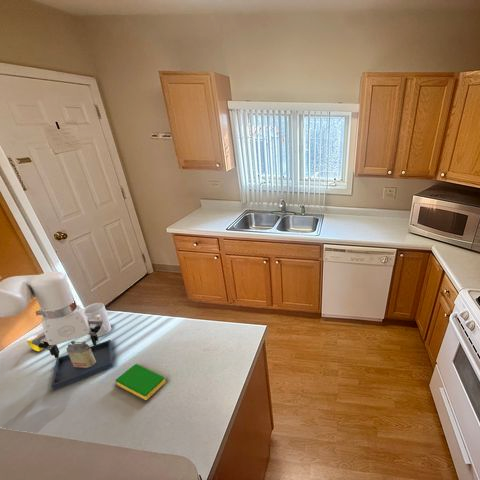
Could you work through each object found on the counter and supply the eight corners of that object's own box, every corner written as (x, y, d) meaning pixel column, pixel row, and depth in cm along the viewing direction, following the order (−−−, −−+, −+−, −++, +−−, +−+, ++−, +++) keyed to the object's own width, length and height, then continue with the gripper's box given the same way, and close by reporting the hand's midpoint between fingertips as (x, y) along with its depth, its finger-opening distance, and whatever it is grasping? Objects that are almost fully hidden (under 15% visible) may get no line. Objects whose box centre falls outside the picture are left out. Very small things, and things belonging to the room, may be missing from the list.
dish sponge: (146, 400, 80) (144, 395, 79) (116, 384, 85) (114, 379, 84) (166, 382, 86) (164, 377, 85) (137, 368, 91) (136, 363, 90)
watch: (48, 349, 96) (42, 337, 94) (39, 354, 94) (33, 342, 91) (37, 344, 98) (31, 333, 95) (28, 350, 95) (21, 338, 93)
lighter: (70, 367, 89) (60, 345, 85) (80, 358, 93) (71, 337, 89) (90, 368, 89) (81, 347, 85) (99, 359, 92) (91, 339, 88)
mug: (89, 331, 105) (79, 308, 100) (109, 323, 110) (101, 300, 105) (96, 344, 99) (86, 320, 94) (117, 334, 104) (109, 311, 99)
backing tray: (53, 390, 82) (51, 385, 81) (58, 362, 91) (56, 358, 90) (112, 366, 91) (111, 362, 90) (111, 343, 100) (110, 339, 99)
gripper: (17, 326, 73) (39, 368, 80) (95, 305, 83) (109, 344, 90) (23, 312, 79) (43, 353, 85) (95, 294, 89) (108, 332, 95)
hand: (76, 348), depth 88 cm, fingers open, 9 cm apart
